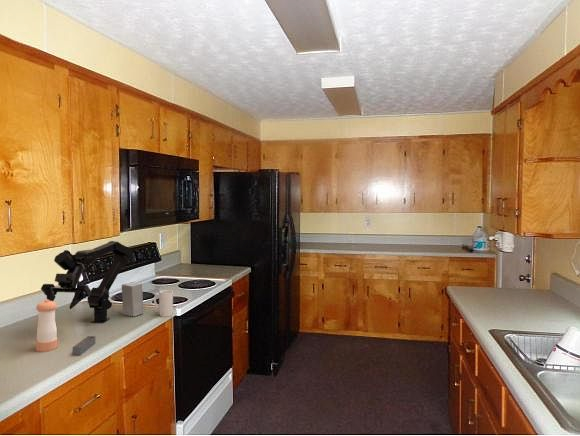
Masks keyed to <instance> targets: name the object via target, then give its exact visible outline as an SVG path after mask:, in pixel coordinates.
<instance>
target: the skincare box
mask: <svg viewBox="0 0 580 436" xmlns="http://www.w3.org/2000/svg"><path fill="white" fill-rule="evenodd" d="M143 293H144V292H143V284H142V283H140V282H139V283H138V282H133V281H132V282H127V283H122V284H121V299H122V315H124V316H128V317H132V316H133V317H134V316H135V317H137V315H138V316H141V315H143V314H144V300H143V299H144V298H143V297H144V295H143ZM142 313H143V314H142ZM140 314H141V315H140ZM135 317H134V318H135Z"/></svg>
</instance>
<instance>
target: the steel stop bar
mask: <svg viewBox="0 0 580 436" xmlns="http://www.w3.org/2000/svg"><path fill="white" fill-rule="evenodd" d="M95 344H96V336H94V335H93V336H92V335H91V336H90V335H89V336H86V337H85V338H84V339H82V340H80V342H78V343H76V344H75V345H73V346H72V356H81V355H83V354H84V353H86V352H87V351H88V350H89V349H91V348H92V347H93V346H94V345H95Z"/></svg>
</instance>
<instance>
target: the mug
mask: <svg viewBox="0 0 580 436" xmlns="http://www.w3.org/2000/svg"><path fill="white" fill-rule="evenodd" d="M157 298H158V302H157ZM153 303H154V306H155V309H156V310H158V313H159V316H160V317H161V318H162V317H163V318H167V317H171V316H172V315H173V309H174V308H173V305H174V291H173V290H169V289H167V290H166V289H164V290H159V292H155V295H154V297H153Z"/></svg>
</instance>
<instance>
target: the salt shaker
mask: <svg viewBox="0 0 580 436" xmlns="http://www.w3.org/2000/svg"><path fill="white" fill-rule="evenodd" d="M57 308H58V304H57V302H56V301H55V300H54V301H49V300H48V299H47V298H46V299H45V300H43V301H41V302H39V303H38V304H37V305H36V308H35V309H36V311H37V312H38V324H37V329H36V340H35V351H36V352H42V353H44V352H51V351H53V350H56V349H57V348H58V337H57V335H58V334H57V333H58V332H57V331H58V330H57V329H58V328H57V325H56V323H57V322H56V310H57Z"/></svg>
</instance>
